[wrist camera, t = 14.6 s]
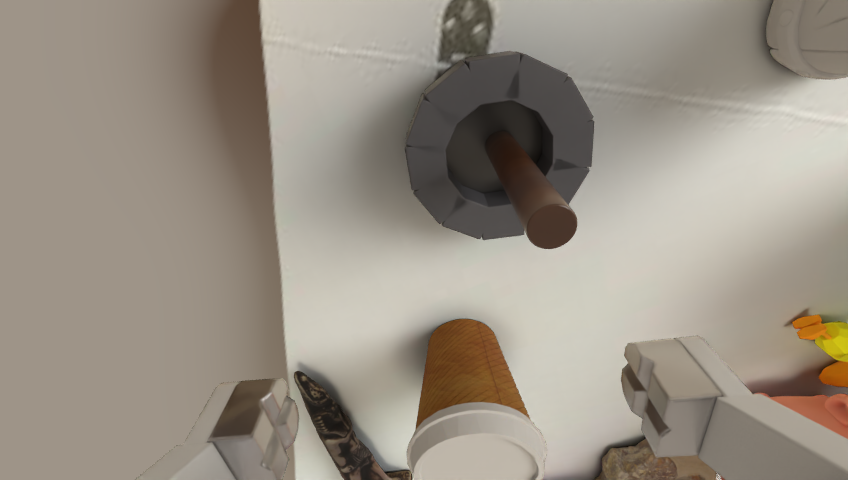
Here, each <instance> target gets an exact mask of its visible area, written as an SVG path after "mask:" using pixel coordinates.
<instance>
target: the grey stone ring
mask: <svg viewBox="0 0 848 480" xmlns="http://www.w3.org/2000/svg"><path fill="white" fill-rule="evenodd" d="M505 101H514V102H516V103H518V104H520V105H523V106H525V107H527V108H529V109H531V110H532V111H533V113H534V115H535V116H536V118H537V119H538V121H539V122H540V124H541V126H542V155H541V157H540V159H539V160H538V162H537V164H536V166H537V167H538V168H539V169H540V171H541V172H542V173H543V174H544V176H545V177H546V178H547V179H548V181H549V182H550V183H551V184H552V185H553V187H554V188H555V189H556V190H557V192H558V193H559V194H560V195H561V197H562V198H563V199H564V200H565V202H566V203H567V204H569V203H570V201H571V200H572V198H573V196H574V195H575V193H576V192H577V190H578V188H579V187H580V185H581V184H582V182H583V180H584V179H585V177H586V176H587V174H588V172H589V169H588V168H587V167H591V165H592V149H593V133H594V121H593V120H591V119H592V118H593V116H592V114H591V112H590V110H589V108H588V107H587V105H586V103H585V101H584V100H583V98H582V96H581V94H580V93H579V91H578V89H577V87H576V85H575V84H574V82H573V80H572V78H571V77H568V74H566V73H564V72H562V71H560V70H558V69H555V68H553V67H551V66H549V65H547V64H545V63H543V62H540V61H538V60H536V59H534V58H532V57H530V56H528V55H526V54H523V53H519V52H512V51H507V52H500V53H494V54H487V55H481V56H474V57H468V58H465V63H464V62H463V61H462V60H460V61H459V62H458V63H456V64H455V65H454V66H453V67H452V68H450V69H449V70H448V71H447V72H446V73H444V74H443V75H442V76H441V77H440V78H438V79H437V80H436V81H435V82H434V83H432V84H431V85H430V86H429V87H428V88H426V89H425V94H424V93H423V94H422V95H421V98H420V101H419V103H418V106H417V108H416V111H415V114H414V116H413V119H412V122H411V124H410V127H409V129H408V132H407V136H406V145H405V152H406V158H407V164H408V170H409V176H410V182H411V188H412V190H414V195H415V196H416V197H417V198H418V200H419V201H420V202H421V203H422V204H423V205H424V207H425V208H426V209H427V210H428V211H429V212H430V214H431V215H432V216H433V217H434V218H435V220H436V221H437V222H438V223H439V224H441V223H442V226H444V227H447V228H450V229H452V230H455V231H458V232H461V233H463V234H466V235H469V236H472V237H474V238H477V239H480V238H481V236H482V239H483V240H487V239H495V238H503V237H511V236H519V235H524V228H523V226H522V224H521V222H520V220H519V218H518V216H517V214H516V212H515V210H514V208H513V206H512V204H511V202H510V200H509V198H508V196H507V194H506V192H505V191H500V192H492V193H485V194H483V193H480V192H478V191H475V190H473V189H470V188H468V187H465V186H462V185H461V184H460V183H459V181H458V180H457V179H456V177H455V176H454V175H453V174H452V172H451V171H450V170H449V168H448V167H447V160H446V152H445V150H446V148H447V146H448V143H449V141H450V139H451V136H452V134H453V132H454V129H455V127H456V125H457V123H459V122H460V121H461V120H462V119H464V118H465V117H466V116H468V115H469V114H470V113H471V112H473V111H474V110H475V109H477V108H478V107H479V106H480V105H484V104H491V103H498V102H505Z"/></svg>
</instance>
